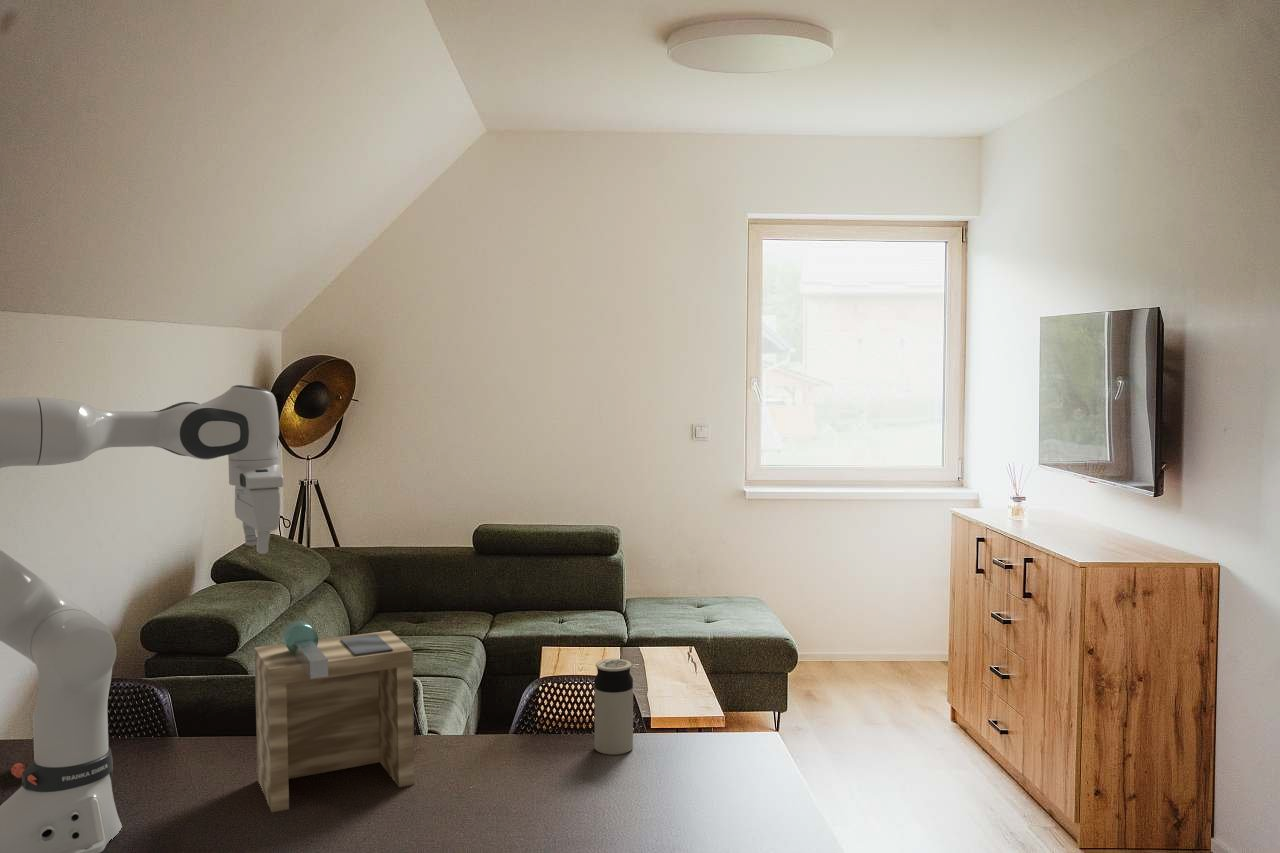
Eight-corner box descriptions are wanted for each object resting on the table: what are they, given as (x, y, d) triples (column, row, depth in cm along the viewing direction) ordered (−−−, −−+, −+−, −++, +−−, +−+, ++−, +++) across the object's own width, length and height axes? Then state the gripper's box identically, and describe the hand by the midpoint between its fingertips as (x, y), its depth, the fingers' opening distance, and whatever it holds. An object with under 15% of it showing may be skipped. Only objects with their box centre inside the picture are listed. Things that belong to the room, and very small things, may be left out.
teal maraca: (335, 675, 182) (335, 643, 181) (302, 679, 179) (302, 647, 178) (312, 647, 199) (312, 618, 199) (282, 651, 196) (281, 621, 196)
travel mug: (640, 746, 218) (640, 661, 217) (619, 758, 212) (619, 671, 210) (608, 739, 223) (608, 656, 221) (587, 750, 216) (586, 665, 215)
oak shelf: (414, 784, 199) (412, 647, 197) (271, 812, 186) (268, 667, 185) (391, 756, 213) (389, 628, 211) (257, 780, 201) (254, 645, 199)
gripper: (225, 469, 198) (227, 542, 199) (248, 480, 181) (250, 559, 182) (259, 467, 201) (261, 539, 202) (286, 478, 184) (287, 556, 185)
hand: (256, 548), depth 192 cm, fingers open, 8 cm apart
